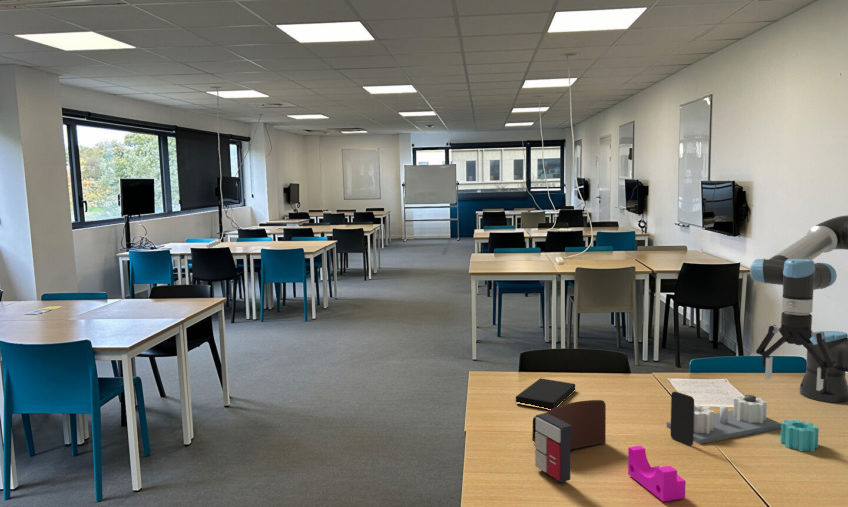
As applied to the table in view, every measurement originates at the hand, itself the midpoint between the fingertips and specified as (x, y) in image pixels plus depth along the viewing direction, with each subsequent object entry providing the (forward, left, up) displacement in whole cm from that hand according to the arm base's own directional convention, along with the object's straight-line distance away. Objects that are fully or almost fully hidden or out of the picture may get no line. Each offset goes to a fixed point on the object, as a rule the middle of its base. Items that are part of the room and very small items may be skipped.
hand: (793, 383), depth 175 cm
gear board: (+9, -16, -18) cm, 26 cm away
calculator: (+75, -9, -18) cm, 78 cm away
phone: (+29, -12, -18) cm, 36 cm away
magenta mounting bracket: (+53, +6, -19) cm, 57 cm away
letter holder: (+60, -25, -19) cm, 67 cm away
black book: (+46, -62, -19) cm, 80 cm away
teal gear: (-1, +2, -18) cm, 18 cm away
